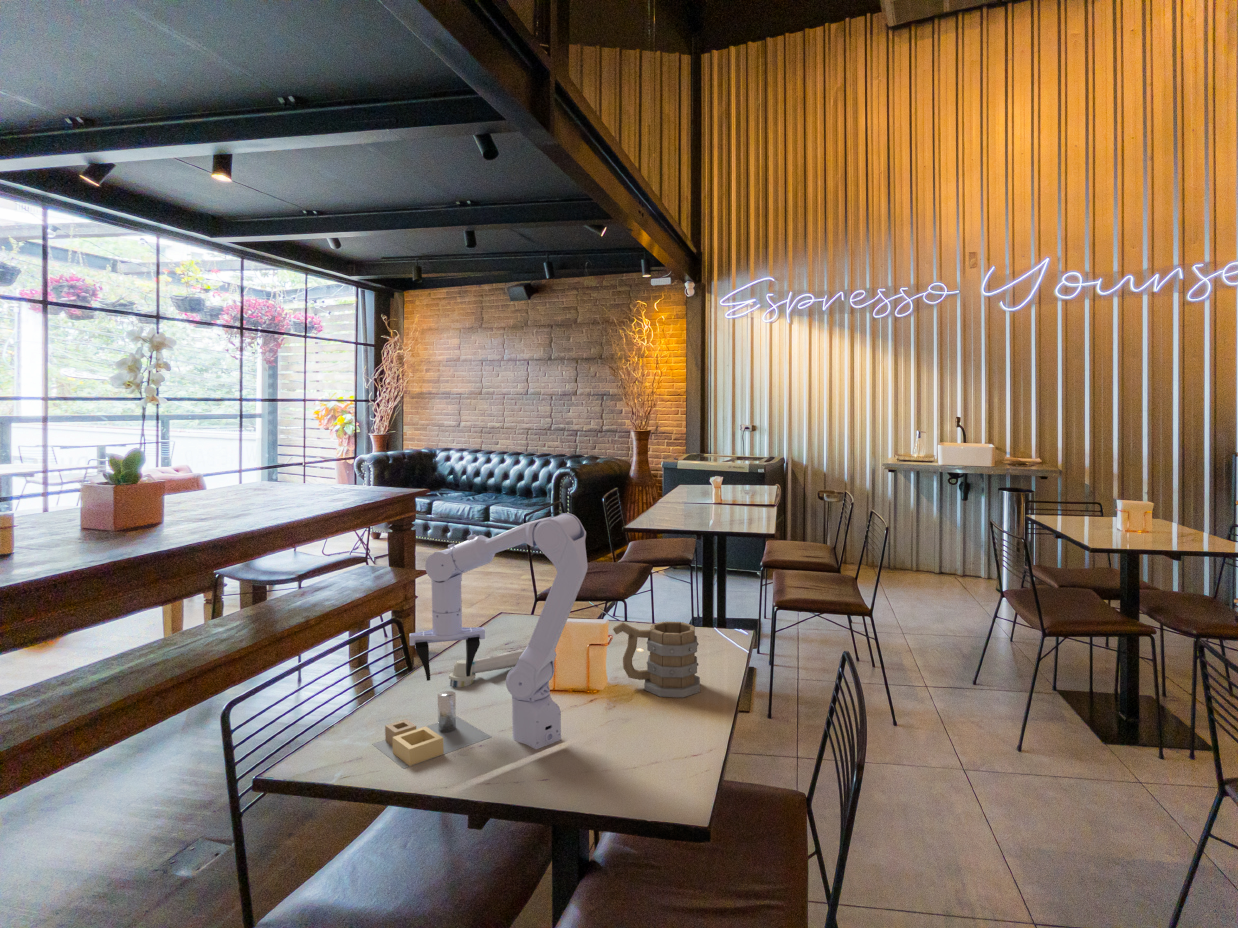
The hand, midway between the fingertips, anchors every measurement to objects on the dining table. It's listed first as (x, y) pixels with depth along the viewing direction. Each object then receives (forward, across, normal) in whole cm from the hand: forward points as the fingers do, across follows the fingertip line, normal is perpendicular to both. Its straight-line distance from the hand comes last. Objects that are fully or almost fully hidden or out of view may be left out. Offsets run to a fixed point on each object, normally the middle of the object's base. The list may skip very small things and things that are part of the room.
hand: (448, 676), depth 139 cm
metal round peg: (+10, 0, +3) cm, 10 cm away
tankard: (+11, -47, -9) cm, 49 cm away
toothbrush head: (+11, -12, -27) cm, 31 cm away
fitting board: (+10, +3, +7) cm, 13 cm away
